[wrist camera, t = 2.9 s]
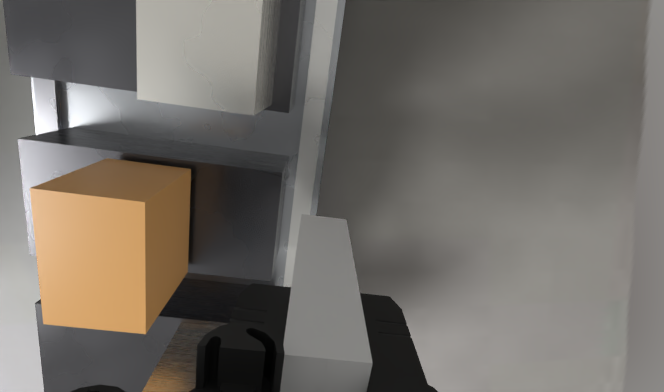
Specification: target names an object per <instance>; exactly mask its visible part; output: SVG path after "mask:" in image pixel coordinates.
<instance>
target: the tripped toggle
mask: <svg viewBox="0 0 664 392" xmlns="http://www.w3.org/2000/svg"><path fill="white" fill-rule="evenodd" d="M190 188H191V169H188V168H180V167H172V166H164V165H156V164H149V163H141V162H133V161H125V160H117V159H109V158H106V159H104V160H101V161H99V162H96V163H94V164H91V165H88V166H86V167H83V168H81V169H78V170H76V171H73V172H70V173H68V174H65V175H63V176H60V177H57V178H55V179H52V180H50V181H47V182H45V183H42V184H39V185H37V186H34V187H32V188H30V196H31V206H32V216H33V226H34V236H35V246H36V256H37V266H38V276H39V286H40V296H41V306H42V316H43V324H46V325H56V326H67V327H77V328H87V329H97V330H107V331H118V332H128V333H138V334H146V333H147V332H148V330H149V329H150V327H151V326H152V324H153V323H154V321H155V320H156V318H157V317H158V315H159V314H160V312H161V311H162V309H163V308H164V307H165V305H166V304H167V302H168V301H169V299H170V298H171V296H172V295H173V293H174V292H175V290H176V289H177V287H178V286H179V284H180V283H181V281H182V280H183V278H184V277H185V275H186V274H187V273H188V252H189V220H190Z"/></svg>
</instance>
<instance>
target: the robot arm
mask: <svg viewBox="0 0 664 392" xmlns="http://www.w3.org/2000/svg"><path fill="white" fill-rule="evenodd" d="M410 336H411V335H410V332H409V329H408V326H406V320H405V318H404V315H403V312H402V309H401V308H400V307H399V306H398V305H397V304H396V303H395V302H394V301H393V300H392V299H391V298H390V297H389V296H379V295H370V294H361V293H360V291H359V285H358V280H357V274H356V269H355V263H354V258H353V252H352V247H351V241H350V236H349V230H348V225H347V219H339V218H331V217H323V216H315V215H307V214H301V220H300V227H299V234H298V242H297V249H296V256H295V263H294V271H293V278H292V285H291V287H283V286H274V285H265V284H256V283H252V284H250V285H249V286H248V287H247V288H246V289H244V290H243V291H242V292H241V293H240V294H239V297H238V299H237V302H236V305H235V308H234V310H233V313H232V316H231V318H230V321H229V324H227V325H223V326H219V327H217V328H215V329H214V330H212V331H210V332H209V333H207V334H205V336H204V337H203V338H202V340H201V341H200V342H199V343H198V345H197V360H196V383H195V388H194V389H192V390H191V391H189V392H438V391H437V390H436V389H434V388H433V387H431V386H429V385H428V384H427V381H426V378H425V375H424V372H423V369H422V367H421V364H420V361H419V358H418V355H417V352H416V349H415V346H414V344H413V341H412V338H410ZM71 392H126V391H124V390H122V389H121V388H119V387H116V386H108V385H94V386H88V387H82V388H78V389H76V390H73V391H71Z"/></svg>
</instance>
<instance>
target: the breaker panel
mask: <svg viewBox="0 0 664 392" xmlns="http://www.w3.org/2000/svg"><path fill="white" fill-rule="evenodd" d="M345 2H346V0H3V5H4V15H5V24H6V34H7V43H8V52H9V62H10V71H11V74H13V75H20V76H27V77H31V85H32V96H33V107H34V118H35V129H36V135H32V136H28V137H23V138H18V147H19V157H20V166H21V175H22V185H23V194H24V204H25V213H26V223H27V232H28V242H29V251H30V255H33V256H36V246H35V236H34V226H33V216H32V206H31V196H30V188H32V187H34V186H37V185H39V184H42V183H45V182H47V181H50V180H52V179H55V178H57V177H60V176H63V175H65V174H68V173H70V172H73V171H76V170H78V169H81V168H83V167H86V166H88V165H91V164H94V163H96V162H99V161H101V160H104V159H106V158H109V159H117V160H125V161H133V162H141V163H149V164H156V165H164V166H172V167H180V168H188V169H191V188H190V220H189V252H188V273H187V274H186V275H185V277H184V278H183V280H182V281H181V283H180V284H179V286H178V287H177V289H176V290H175V292H174V293H173V295H172V296H171V298H170V299H169V301H168V302H167V304H166V305H165V307H164V308H163V309H162V311H161V312H160V314H159V315H158V317H157V318H156V320H155V321H154V323H153V324H152V326H151V327H150V329H149V330H148V332H147V333H146V334H138V333H128V332H118V331H107V330H97V329H87V328H77V327H67V326H56V325H46V324H43V316H42V306H41V299H40V300H39V301H38V302H36V303H35V308H36V317H37V327H38V336H39V346H40V355H41V365H42V374H43V383H44V392H71V391H73V390H76V389H78V388H82V387H88V386H94V385H108V386H116V387H119V388H121V389H122V390H124V391H126V392H189V391H191V390H192V389H194V388H195V383H196V360H197V345H198V343H199V342H200V341H201V340H202V338H203V337H204V336H205V334H207V333H209V332H210V331H212V330H214V329H215V328H217V327H219V326H223V325H227V324H229V321H230V318H231V316H232V313H233V310H234V308H235V305H236V302H237V299H238V297H239V294H240V293H241V292H242V291H243V290H244V289H246V288H247V287H248V286H249V285H250V284H252V283H256V284H265V285H274V286H283V287H291V285H292V278H293V271H294V263H295V256H296V249H297V242H298V234H299V227H300V220H301V214H307V215H315V216H316V213H317V206H318V199H319V191H320V184H321V177H322V169H323V162H324V155H325V148H326V140H327V133H328V126H329V118H330V111H331V104H332V97H333V89H334V82H335V75H336V68H337V60H338V53H339V46H340V38H341V31H342V24H343V17H344V9H345Z"/></svg>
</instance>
